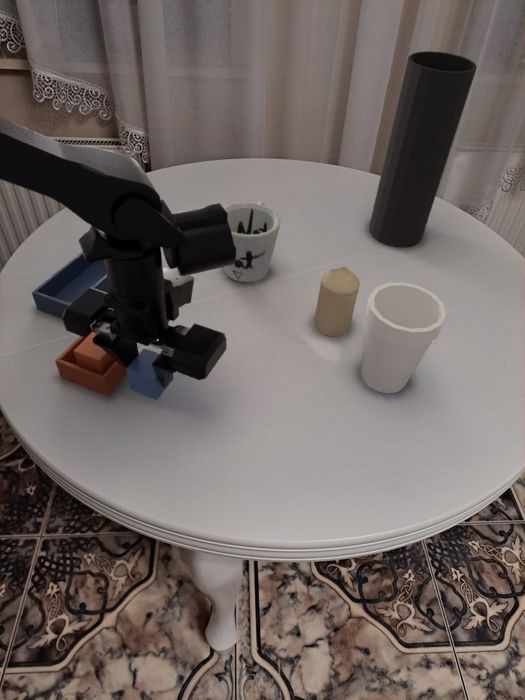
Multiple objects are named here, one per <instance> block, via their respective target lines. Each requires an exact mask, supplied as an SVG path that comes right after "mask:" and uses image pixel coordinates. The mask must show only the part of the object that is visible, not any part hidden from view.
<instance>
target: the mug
mask: <svg viewBox="0 0 525 700" xmlns="http://www.w3.org/2000/svg"><path fill="white" fill-rule="evenodd" d="M265 204H266V203H264V202H263V201H258V202H249V201H245V202H235V203H230V204H228V205H225V206H222V207H223V208H224V209H225V210H226V212H227V213H228V224H229V226H230V229H231V233H232V236H233V241H234V245H235V247H236V260H235V263H234V264H233V265H230V266H226V267H223V270H224V273H225V274H226V276H227V277H229V278H230V279H231V280H233V281H236V282H240V283H254V282H257V281H260V280H262V279H263V278H265V277H266V275H267V274H268V273H269V270H270V269H269V268H270V265H271V261H272V257H273V254H274V250H275V246H276V243H277V239H278V235H279V231H280V227H281V221H282V220H281V218H280V215H279V214H278V212H276V211H275V210H274V209H273V208H271V207H269V206H268V205H265Z"/></svg>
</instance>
